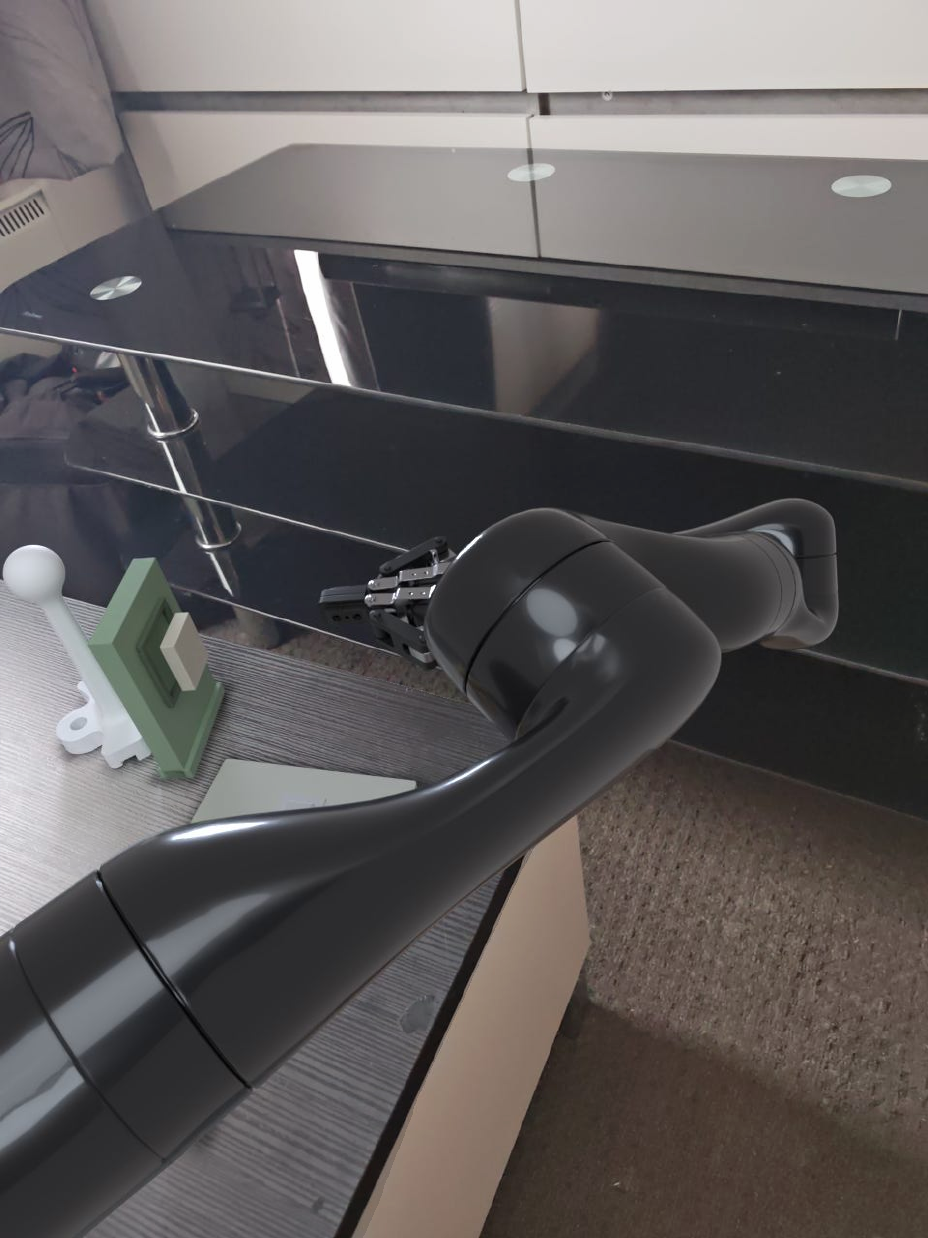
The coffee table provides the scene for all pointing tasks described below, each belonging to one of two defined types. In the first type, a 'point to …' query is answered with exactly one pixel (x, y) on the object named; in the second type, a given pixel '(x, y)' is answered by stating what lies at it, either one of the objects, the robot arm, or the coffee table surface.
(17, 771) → the coffee table surface
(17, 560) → the joystick
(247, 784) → the light switch
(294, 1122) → the coffee table surface
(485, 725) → the coffee table surface
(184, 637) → the far switch
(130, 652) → the far plate
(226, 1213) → the coffee table surface
